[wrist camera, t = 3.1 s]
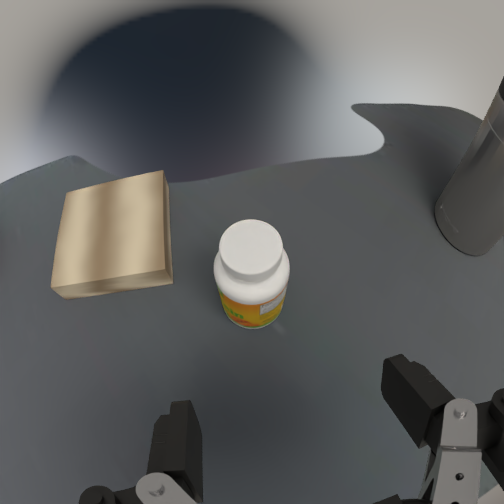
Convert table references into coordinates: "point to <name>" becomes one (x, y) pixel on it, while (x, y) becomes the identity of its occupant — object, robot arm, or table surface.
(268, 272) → the supplement bottle
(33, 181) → the table surface
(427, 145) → the table surface
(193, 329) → the table surface
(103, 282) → the base block
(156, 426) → the robot arm
